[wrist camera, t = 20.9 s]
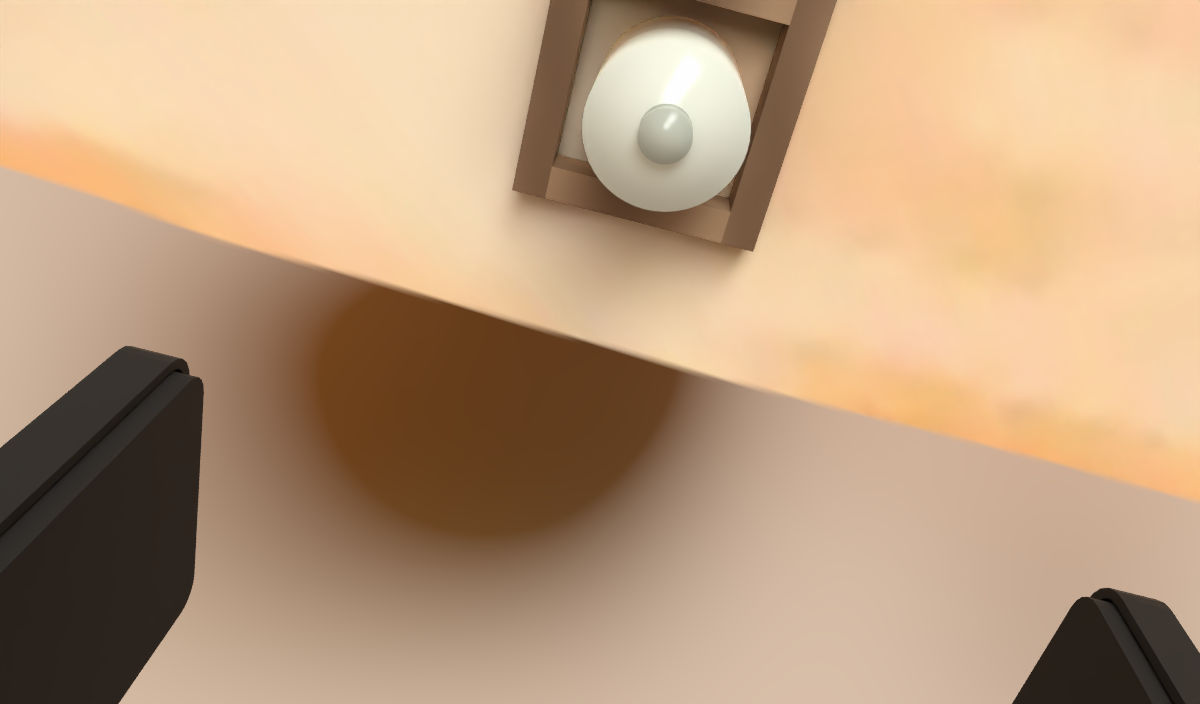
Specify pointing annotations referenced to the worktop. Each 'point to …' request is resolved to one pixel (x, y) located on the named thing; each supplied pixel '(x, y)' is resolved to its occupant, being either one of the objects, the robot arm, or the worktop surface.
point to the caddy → (738, 220)
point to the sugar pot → (667, 116)
